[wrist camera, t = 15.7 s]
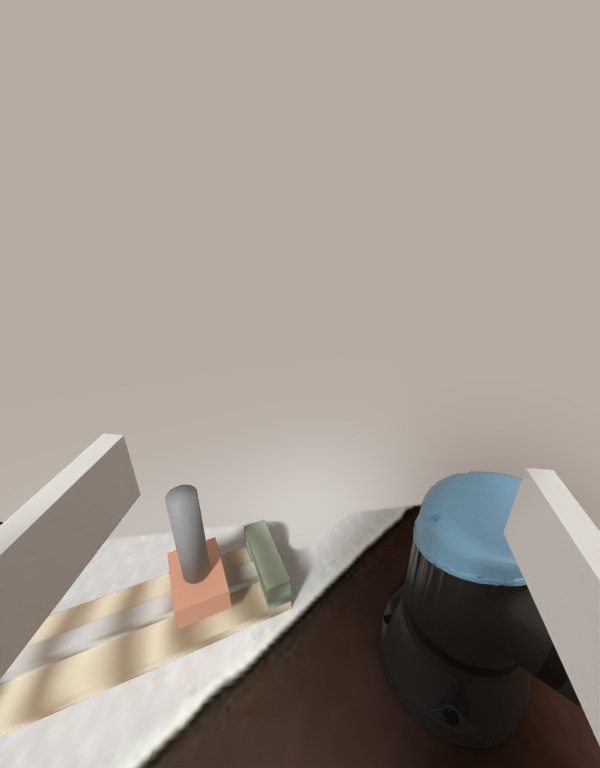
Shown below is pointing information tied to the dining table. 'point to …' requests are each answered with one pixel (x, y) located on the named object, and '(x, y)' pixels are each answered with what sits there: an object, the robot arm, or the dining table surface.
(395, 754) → the dining table surface
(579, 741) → the dining table surface
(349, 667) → the dining table surface
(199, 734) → the dining table surface
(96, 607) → the rail track
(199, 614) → the carriage
